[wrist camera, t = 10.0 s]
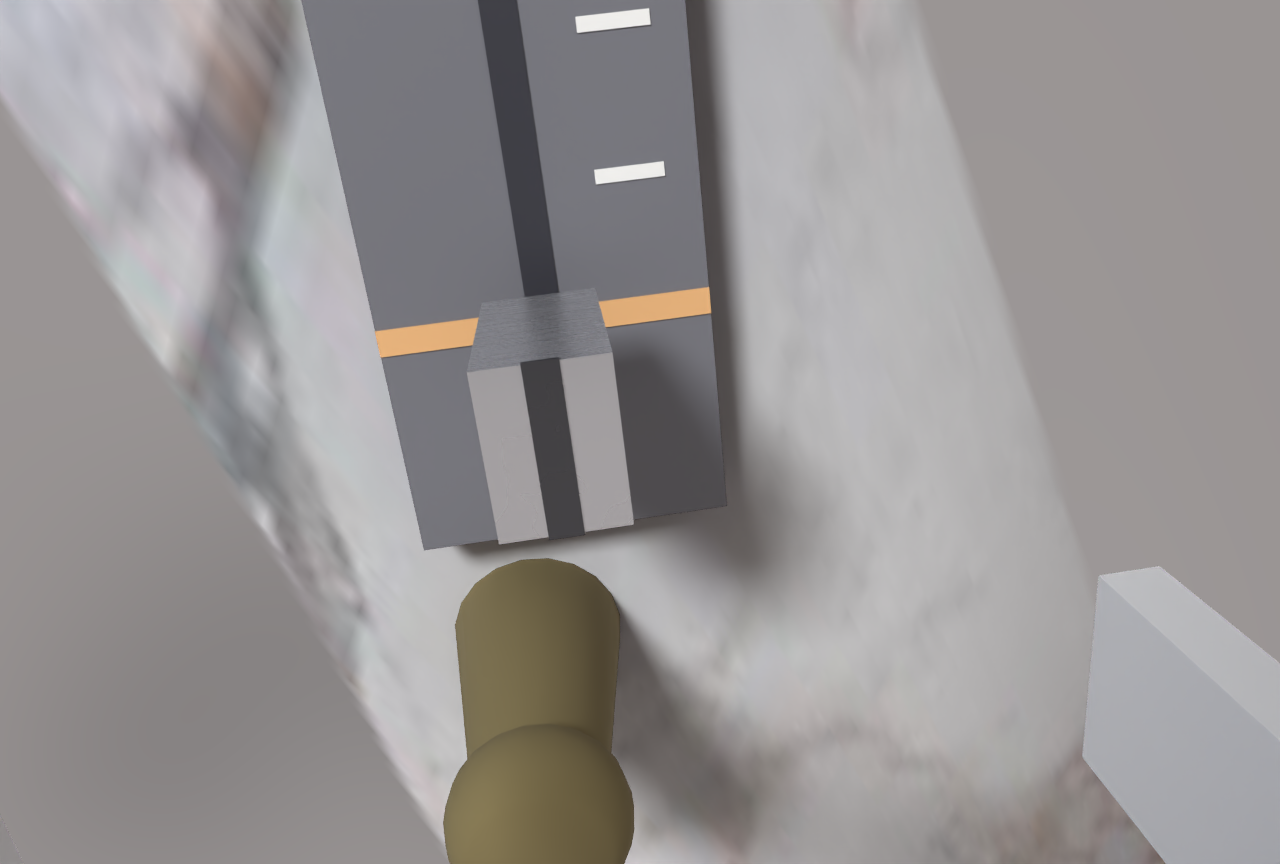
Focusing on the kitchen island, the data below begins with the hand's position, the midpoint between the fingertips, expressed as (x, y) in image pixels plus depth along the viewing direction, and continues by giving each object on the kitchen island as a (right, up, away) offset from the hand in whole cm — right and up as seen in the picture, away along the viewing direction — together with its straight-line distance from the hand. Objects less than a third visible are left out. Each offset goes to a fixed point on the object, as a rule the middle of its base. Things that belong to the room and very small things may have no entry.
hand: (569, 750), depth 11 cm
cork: (-3, -3, +23) cm, 24 cm away
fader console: (-3, +11, +17) cm, 21 cm away
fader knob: (-2, +7, +17) cm, 18 cm away
